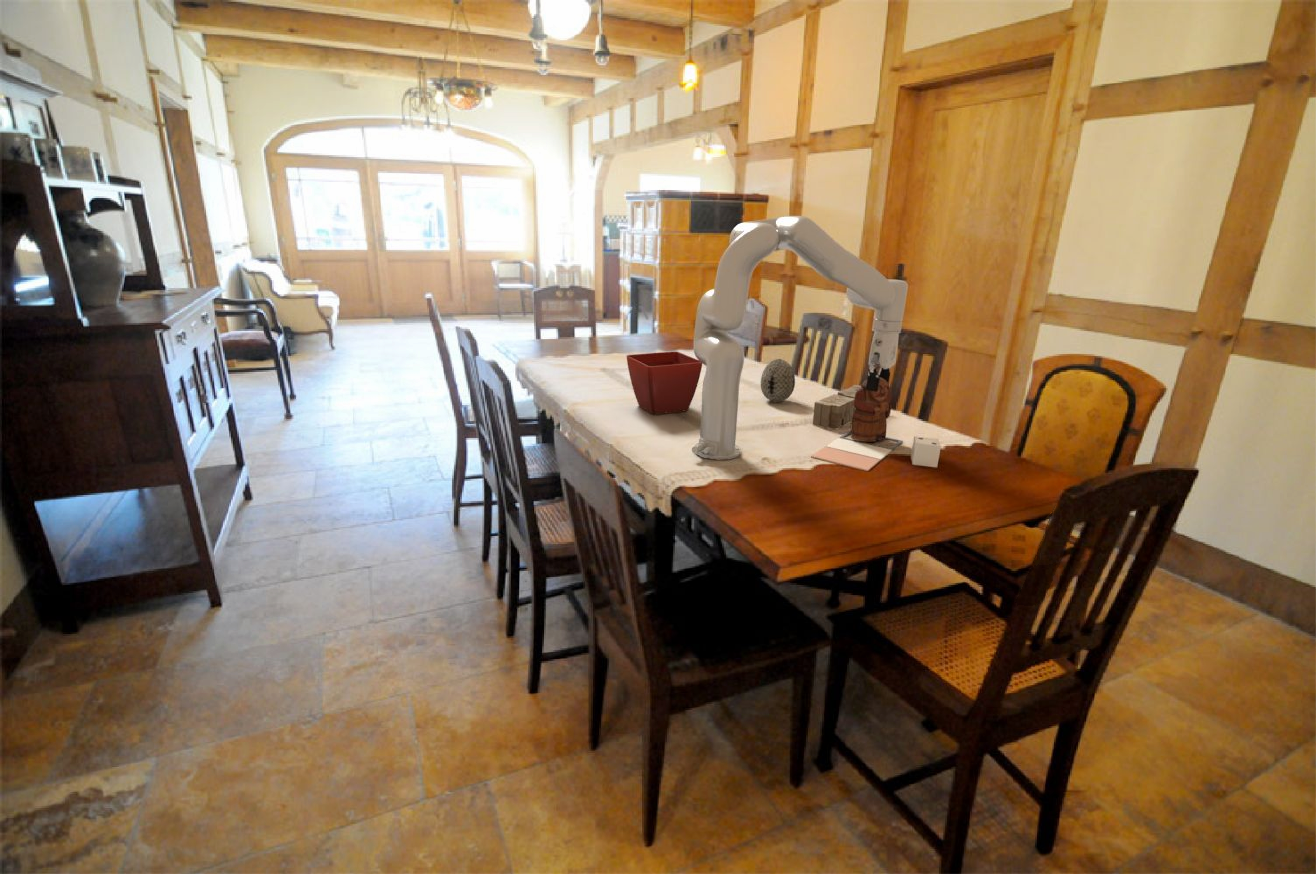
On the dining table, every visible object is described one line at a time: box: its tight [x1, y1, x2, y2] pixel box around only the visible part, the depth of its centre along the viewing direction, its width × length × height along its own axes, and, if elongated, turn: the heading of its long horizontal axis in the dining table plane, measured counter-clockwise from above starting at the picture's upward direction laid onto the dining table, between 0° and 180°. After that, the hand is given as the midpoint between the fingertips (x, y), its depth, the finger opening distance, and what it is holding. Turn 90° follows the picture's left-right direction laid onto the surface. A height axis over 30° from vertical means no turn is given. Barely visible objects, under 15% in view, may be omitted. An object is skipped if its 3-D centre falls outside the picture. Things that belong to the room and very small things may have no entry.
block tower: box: [812, 384, 861, 430], centre depth 204 cm, size 8×8×29 cm
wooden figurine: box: [850, 377, 893, 443], centre depth 180 cm, size 12×6×18 cm, turn 124°
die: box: [910, 435, 942, 468], centre depth 167 cm, size 6×6×6 cm
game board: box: [810, 429, 904, 472], centre depth 176 cm, size 29×15×1 cm, turn 143°
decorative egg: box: [760, 358, 796, 403], centre depth 218 cm, size 12×12×15 cm
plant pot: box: [626, 351, 703, 415], centre depth 206 cm, size 19×19×17 cm
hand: (877, 387), depth 178 cm, fingers closed on wooden figurine, 8 cm apart
